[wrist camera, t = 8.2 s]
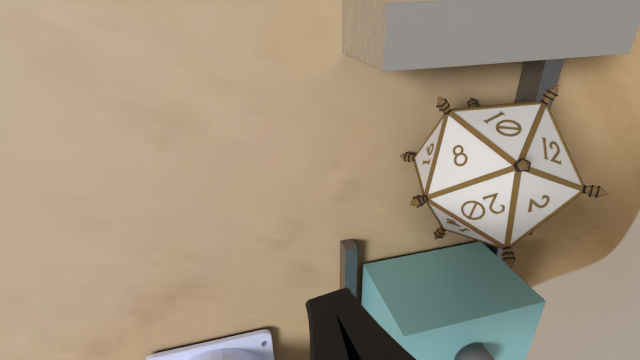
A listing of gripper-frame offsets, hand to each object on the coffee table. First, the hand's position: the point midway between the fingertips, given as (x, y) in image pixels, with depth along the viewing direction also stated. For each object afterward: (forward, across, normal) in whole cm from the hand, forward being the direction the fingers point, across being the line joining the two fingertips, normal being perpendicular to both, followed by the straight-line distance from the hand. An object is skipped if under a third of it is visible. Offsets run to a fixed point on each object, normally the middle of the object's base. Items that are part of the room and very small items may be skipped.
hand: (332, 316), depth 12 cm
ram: (+10, -8, +12) cm, 18 cm away
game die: (+11, -10, +1) cm, 15 cm away
